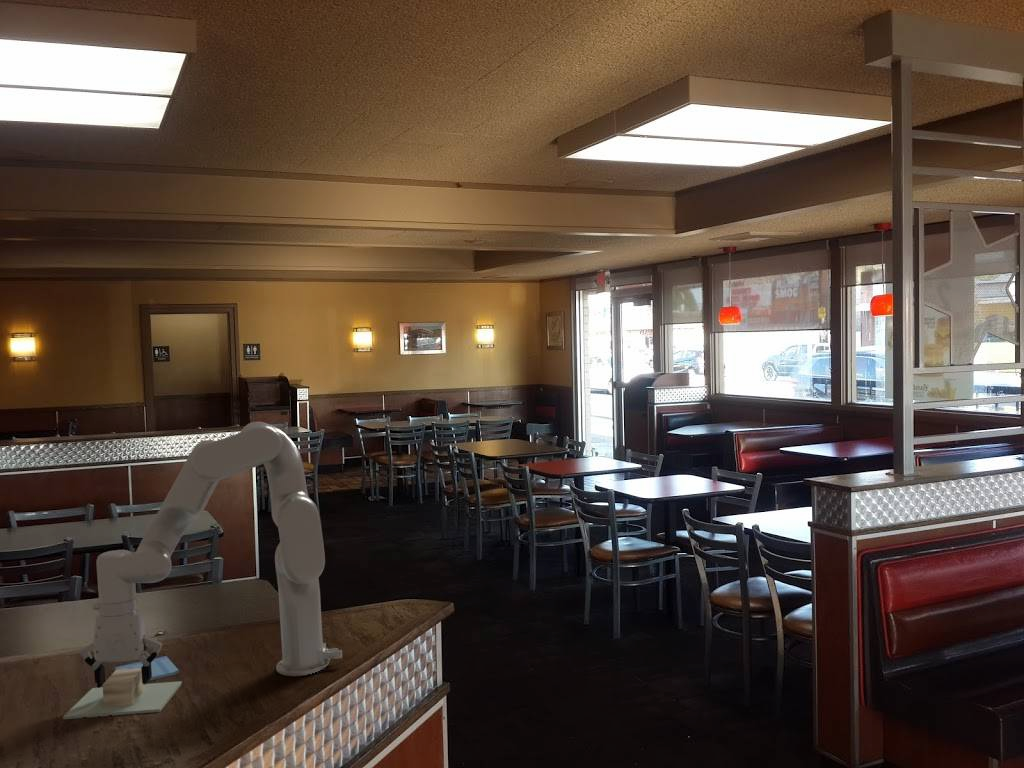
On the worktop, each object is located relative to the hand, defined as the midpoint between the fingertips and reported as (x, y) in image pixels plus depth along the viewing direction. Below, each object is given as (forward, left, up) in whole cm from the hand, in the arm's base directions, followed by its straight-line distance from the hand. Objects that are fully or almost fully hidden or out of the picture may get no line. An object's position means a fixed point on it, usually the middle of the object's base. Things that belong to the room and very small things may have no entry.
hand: (123, 683), depth 199 cm
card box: (0, 0, -3) cm, 3 cm away
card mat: (0, 0, -4) cm, 4 cm away
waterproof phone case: (+1, -18, -4) cm, 19 cm away
